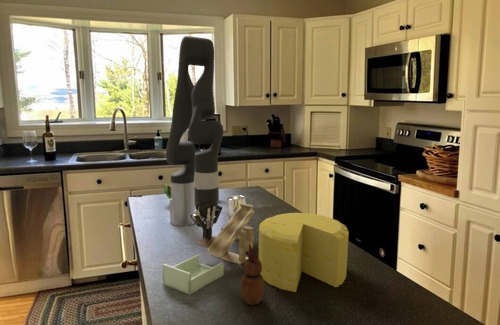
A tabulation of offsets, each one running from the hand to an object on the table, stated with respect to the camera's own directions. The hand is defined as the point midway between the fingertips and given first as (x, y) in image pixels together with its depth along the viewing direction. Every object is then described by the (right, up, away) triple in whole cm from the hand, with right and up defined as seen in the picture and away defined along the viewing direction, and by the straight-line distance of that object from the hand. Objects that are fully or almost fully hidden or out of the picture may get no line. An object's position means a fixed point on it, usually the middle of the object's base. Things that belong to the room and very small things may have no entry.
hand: (207, 238), depth 127 cm
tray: (-2, -9, -13) cm, 16 cm away
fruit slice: (-15, +5, +67) cm, 69 cm away
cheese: (+29, -9, -7) cm, 31 cm away
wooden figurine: (+14, -12, -24) cm, 30 cm away
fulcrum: (+10, -6, +4) cm, 13 cm away
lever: (+6, +2, +2) cm, 7 cm away
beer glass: (+8, -4, +21) cm, 23 cm away
